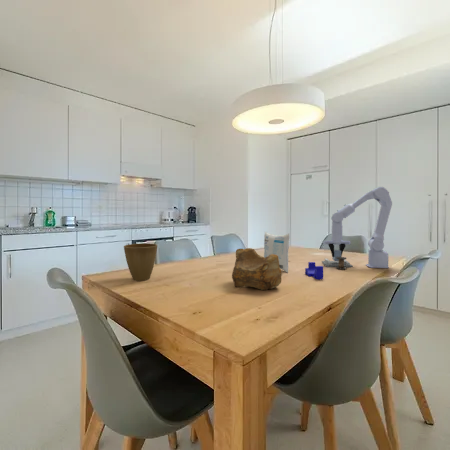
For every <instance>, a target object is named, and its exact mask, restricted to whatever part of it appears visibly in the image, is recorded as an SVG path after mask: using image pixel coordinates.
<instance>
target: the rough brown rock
mask: <svg viewBox="0 0 450 450" xmlns="http://www.w3.org/2000/svg"><path fill="white" fill-rule="evenodd" d="M231 278H232V281H233V284H234V286H235V288H243V287H251V288H254V289H258V290H261V291H267V290H271V289H274V288H277V287H279V286H280V285H281V283H282V269H280V267H279V258H278V256H277V255H275V254H271V255H269V256H267V257H266V258H264V256H262V255H260V254H258V252H257V251H256V250H255V248H251V247H250V248H249V247H248V248H237V249H236V250H235V262H234V267H233V268H232V273H231Z"/></svg>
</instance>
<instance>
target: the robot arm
mask: <svg viewBox="0 0 450 450" xmlns="http://www.w3.org/2000/svg"><path fill="white" fill-rule="evenodd" d="M373 199H374V200H376V201H377V202H378V203H379V204H380V209H379V212H378V216H377V219H376V222H375V228H374V231H373V234H372V235H371V237H370V239H369V240H368V243H367V244H368V247H369V249H368V258H367V259H368V262H367V263H368V264H367V263H366V264H365V266H367V267H369V268H371V269H373V268H375V269H376V268H378V269H389V268H390V267H389V253H388V251H386V250H385V251H384V250H383V249H384V247H385V244H384V240H385V237H384V235H385V232H386V229H387V224H388V220H389V216H390V213H391V209H392V206H393V201H392V199H391V196H390V192H389V190H388V189H387V188H385V187H384V186H378V187H375V188H373V189H372V190H369V191H367V192H365V193H364V194H363V195H361V196H359V198H358V199H357V200H355V201H353V202H352V203H347V204H346V203H345V204H344V205H343V207H341V208H340V209H337V210H336V212H334V213H333V214H332V216H330V217H331V218H330V219H331V220H332V221H331V240H323V245H328V247H329V249H330V254H331V258H332V257H334V249H335V245H338V247H339V248H338V249H339V250H341V257H343V252H344V250H345V248H346V246H347V245H349V246H350V245H351V240H343V221H344V219H346V218H348V217H349V216H350V215H352V214H353V213H355V210H356V208H358V207H359V206H361V205H362V204H364V203H366V202H367V201H368V200H373Z"/></svg>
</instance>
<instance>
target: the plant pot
mask: <svg viewBox="0 0 450 450" xmlns="http://www.w3.org/2000/svg"><path fill="white" fill-rule="evenodd" d="M123 250H124V255H125V260H126V263H127V264H126V265H127V267H128V271H129V273H130V276H131V278H132V280H133V281H135V282H143V281H148V280H150V279H151V276H152V273H153V270H154V267H155V266H154V265H155V262H156V256H157V250H158V244H156V243H149V242H148V243H130V244H125V245H123Z"/></svg>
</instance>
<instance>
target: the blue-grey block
mask: <svg viewBox="0 0 450 450" xmlns="http://www.w3.org/2000/svg"><path fill="white" fill-rule="evenodd" d="M336 257H341V250H340V249H339V248H337V249H336V248H334V257H332V256H331V258H332V261H339V259H336Z"/></svg>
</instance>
